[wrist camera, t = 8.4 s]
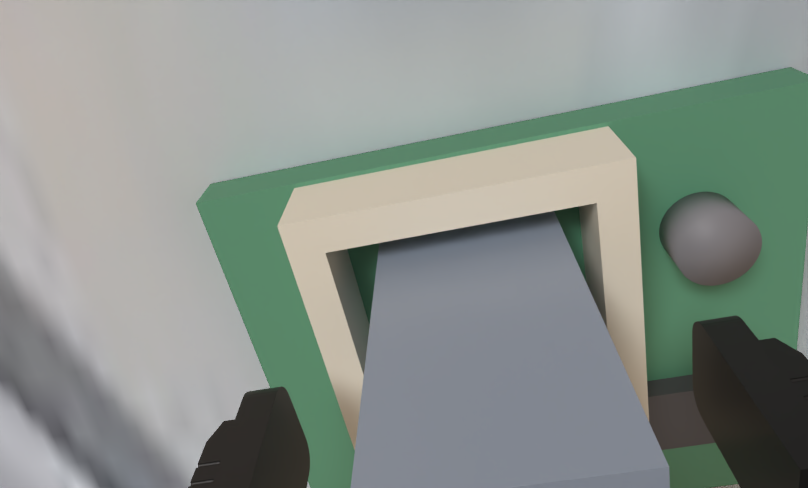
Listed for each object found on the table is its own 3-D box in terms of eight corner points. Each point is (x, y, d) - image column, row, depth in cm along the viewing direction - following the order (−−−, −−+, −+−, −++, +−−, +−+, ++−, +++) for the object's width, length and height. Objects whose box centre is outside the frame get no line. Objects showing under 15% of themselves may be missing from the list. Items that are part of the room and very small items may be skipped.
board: (790, 67, 14) (882, 105, 12) (765, 447, 20) (823, 536, 17) (210, 183, 16) (165, 242, 13) (335, 505, 21) (321, 596, 19)
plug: (548, 198, 15) (669, 466, 8) (567, 360, 17) (674, 685, 10) (381, 228, 15) (348, 508, 8) (420, 382, 17) (421, 709, 10)
